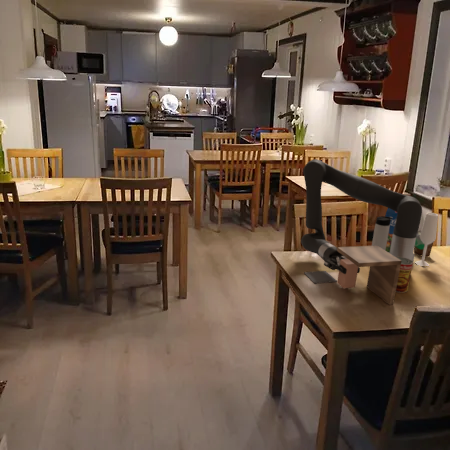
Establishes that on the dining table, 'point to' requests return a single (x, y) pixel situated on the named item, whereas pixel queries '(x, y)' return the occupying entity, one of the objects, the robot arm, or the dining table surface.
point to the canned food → (404, 274)
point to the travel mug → (381, 232)
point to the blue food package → (393, 215)
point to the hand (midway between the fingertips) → (352, 271)
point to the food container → (421, 246)
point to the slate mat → (320, 277)
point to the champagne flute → (428, 234)
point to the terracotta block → (348, 274)
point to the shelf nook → (376, 269)
